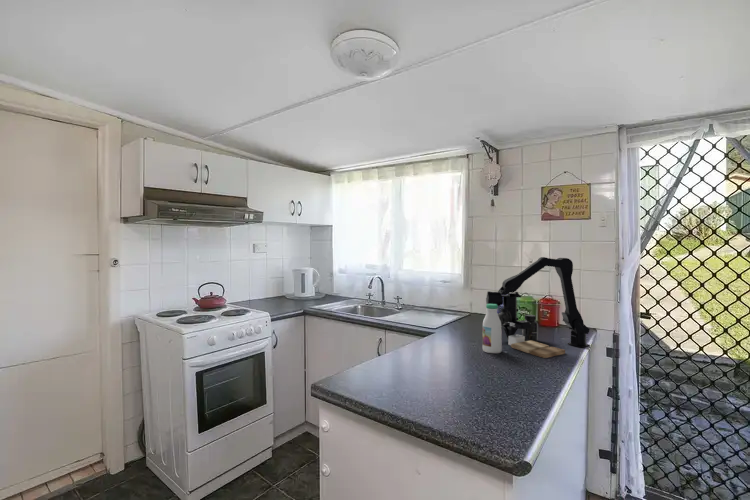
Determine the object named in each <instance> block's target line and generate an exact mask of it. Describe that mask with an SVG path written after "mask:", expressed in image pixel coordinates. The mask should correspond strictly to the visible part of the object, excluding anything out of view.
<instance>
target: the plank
mask: <svg viewBox="0 0 750 500" xmlns="http://www.w3.org/2000/svg"><path fill="white" fill-rule="evenodd" d="M547 347H550V346H549V345H548V344H545V343H541V342H538V341H537V342H535V341H532V340H530V341H524V342H519V343H514V344H511V345H510V348H512V349H514V350H518V351H520V352H524V353H526V354H530V352H532V350H537V349H542V348H547Z"/></svg>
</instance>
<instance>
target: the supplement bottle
mask: <svg viewBox="0 0 750 500" xmlns="http://www.w3.org/2000/svg"><path fill="white" fill-rule="evenodd" d="M536 320H537V317H536V315H535V314H525V315H524V321H528V322H530V323H531V328H527V329H521V330H522V331H521V333H522V334H521V336H525V340H524V342H525V341H530V340H532V341H535V342H538V340H539V336H538V335H539V324H538V321H536Z"/></svg>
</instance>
